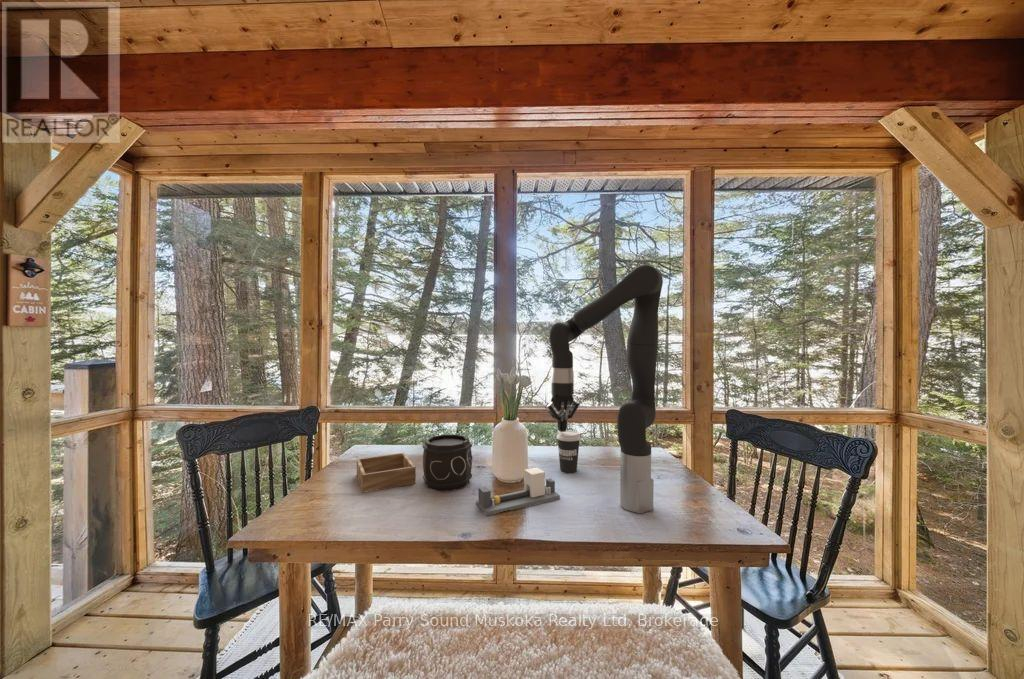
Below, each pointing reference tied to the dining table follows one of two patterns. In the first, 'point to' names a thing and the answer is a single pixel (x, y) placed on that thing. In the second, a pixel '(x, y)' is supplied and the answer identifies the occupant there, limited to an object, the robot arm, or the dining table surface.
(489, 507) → the gray slide rail base
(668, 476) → the dining table surface
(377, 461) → the box
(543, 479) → the sleeve
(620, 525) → the dining table surface
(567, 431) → the coffee cup
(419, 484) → the dining table surface
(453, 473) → the black canister
